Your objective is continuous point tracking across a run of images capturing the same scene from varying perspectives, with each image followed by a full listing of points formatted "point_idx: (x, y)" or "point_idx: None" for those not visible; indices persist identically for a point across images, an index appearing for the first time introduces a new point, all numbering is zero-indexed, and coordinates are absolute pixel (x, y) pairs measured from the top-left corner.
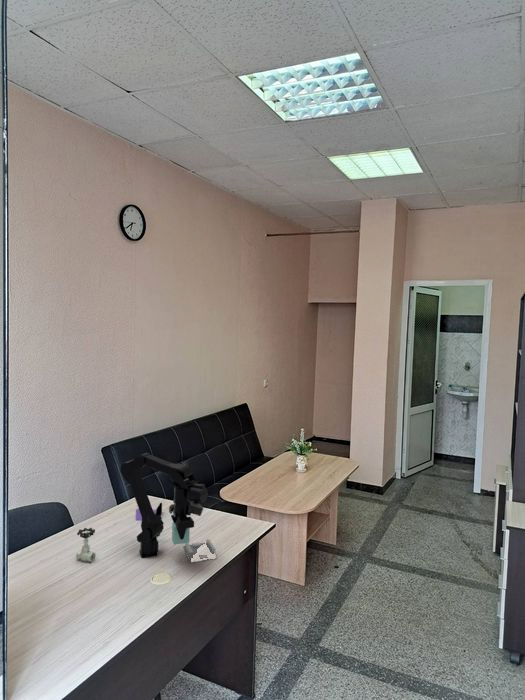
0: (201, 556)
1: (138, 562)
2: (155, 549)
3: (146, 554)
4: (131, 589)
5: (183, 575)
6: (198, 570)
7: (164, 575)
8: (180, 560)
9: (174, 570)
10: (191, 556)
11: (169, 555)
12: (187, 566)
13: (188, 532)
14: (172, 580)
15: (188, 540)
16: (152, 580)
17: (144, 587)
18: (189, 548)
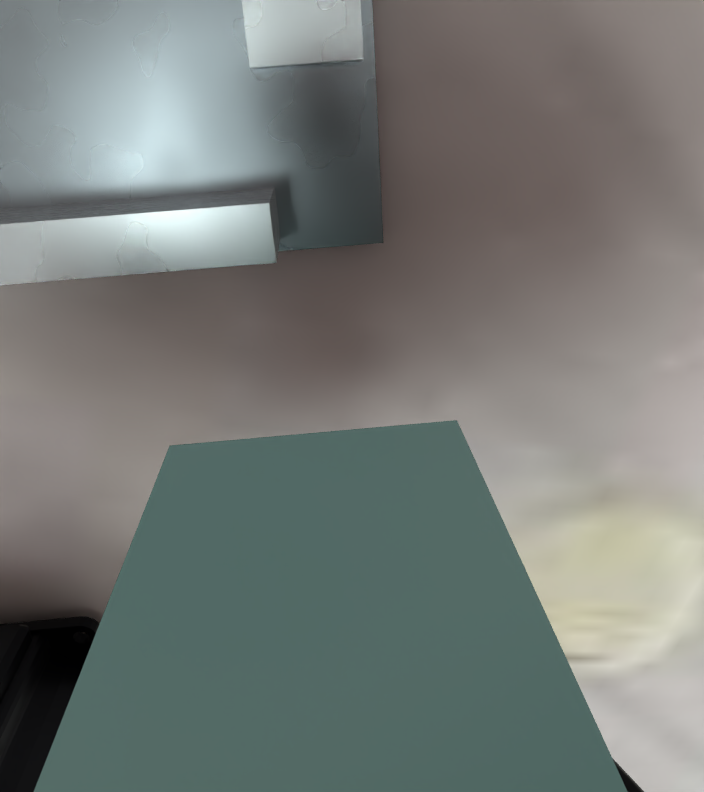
0: (295, 21)
1: None
2: (32, 686)
3: None
4: (668, 787)
5: (648, 373)
6: (611, 151)
7: (557, 563)
8: (248, 365)
9: (489, 460)
10: (275, 220)
11: (81, 484)
12: (443, 293)
13: (557, 685)
14: (695, 497)
15: (469, 473)
16: (603, 660)
17: (688, 713)
18: (106, 251)
